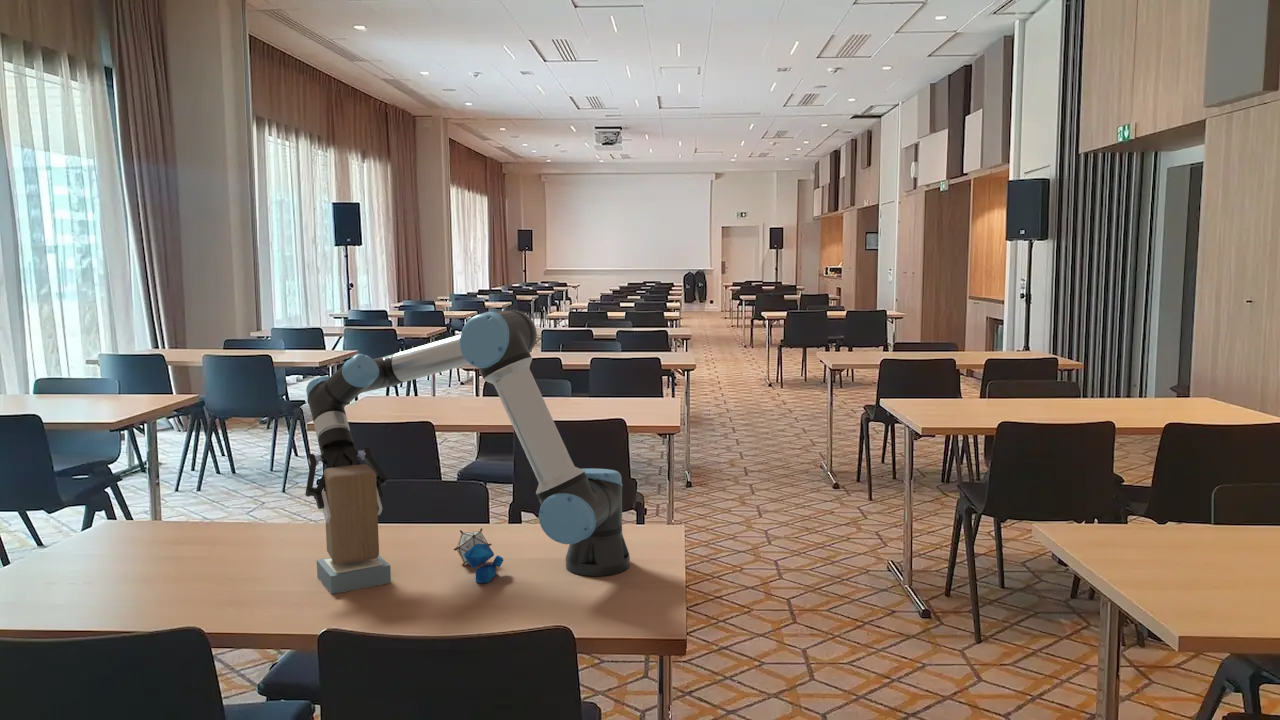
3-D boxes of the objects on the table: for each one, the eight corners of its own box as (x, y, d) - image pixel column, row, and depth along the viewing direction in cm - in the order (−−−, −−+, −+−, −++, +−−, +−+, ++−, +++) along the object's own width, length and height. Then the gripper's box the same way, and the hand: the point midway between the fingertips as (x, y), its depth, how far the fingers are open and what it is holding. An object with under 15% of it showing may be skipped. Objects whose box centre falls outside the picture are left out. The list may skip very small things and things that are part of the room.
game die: (477, 580, 214) (480, 555, 208) (446, 565, 215) (448, 540, 209) (495, 552, 221) (499, 527, 214) (464, 538, 222) (467, 513, 215)
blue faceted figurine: (510, 542, 209) (490, 546, 197) (507, 580, 208) (487, 586, 196) (480, 540, 211) (458, 544, 199) (477, 578, 210) (456, 584, 198)
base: (390, 582, 202) (390, 564, 202) (331, 594, 195) (330, 575, 195) (374, 566, 213) (373, 549, 213) (317, 576, 206) (316, 559, 206)
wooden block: (333, 566, 197) (329, 476, 195) (326, 553, 206) (322, 467, 204) (380, 559, 202) (376, 471, 199) (371, 546, 210) (367, 462, 208)
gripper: (380, 439, 220) (402, 516, 209) (280, 450, 208) (298, 532, 196) (385, 420, 215) (408, 499, 204) (284, 430, 203) (302, 514, 191)
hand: (354, 515), depth 200 cm, fingers closed on wooden block, 10 cm apart
